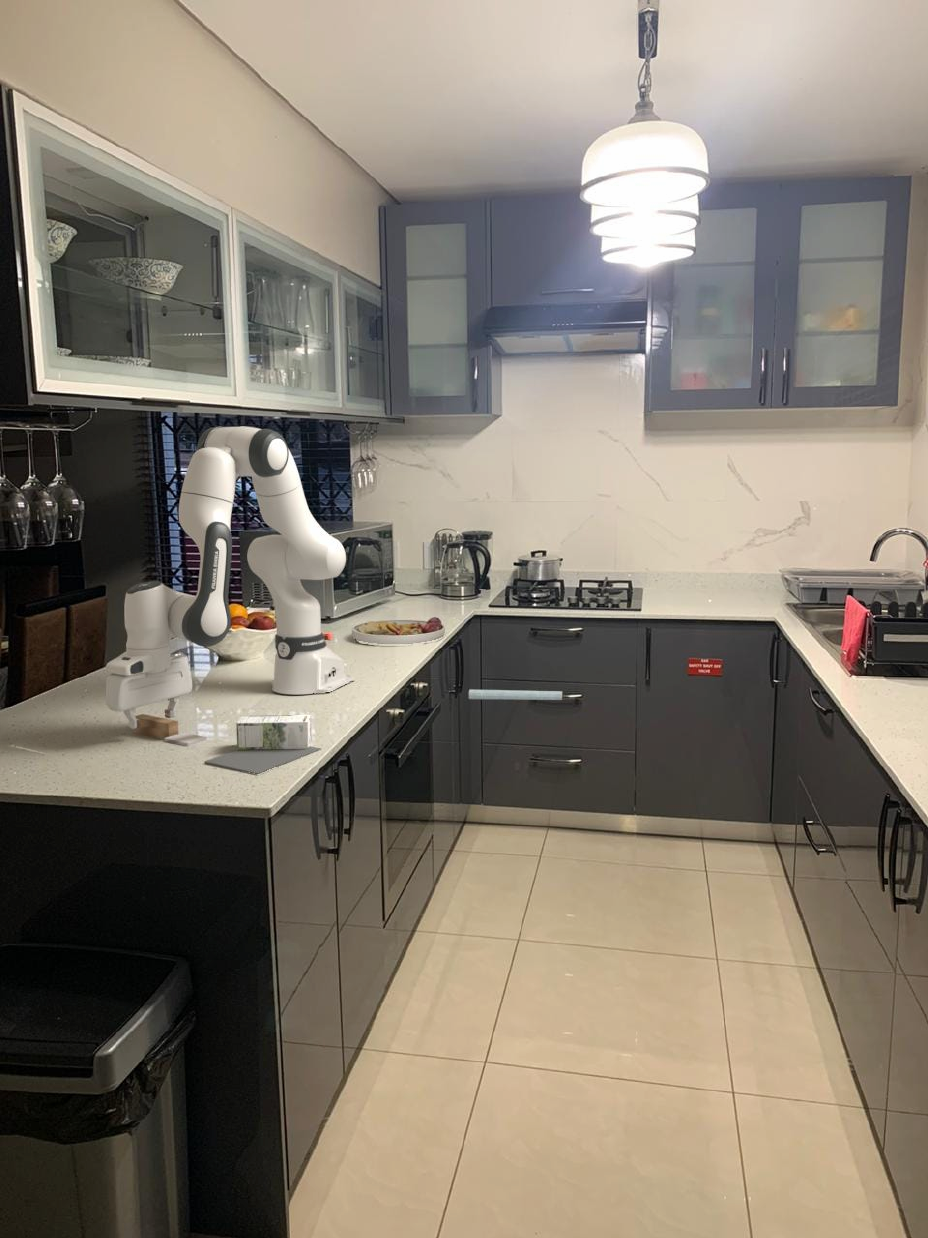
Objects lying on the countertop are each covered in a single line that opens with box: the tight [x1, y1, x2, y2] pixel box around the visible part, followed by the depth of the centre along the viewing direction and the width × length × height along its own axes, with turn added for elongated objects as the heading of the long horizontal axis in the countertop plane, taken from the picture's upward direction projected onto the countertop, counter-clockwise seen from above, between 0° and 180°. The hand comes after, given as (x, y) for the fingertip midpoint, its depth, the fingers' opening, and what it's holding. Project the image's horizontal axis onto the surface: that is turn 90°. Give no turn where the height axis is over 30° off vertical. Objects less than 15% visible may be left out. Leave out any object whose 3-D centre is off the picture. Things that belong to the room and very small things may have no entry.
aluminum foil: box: [467, 689, 564, 701], centre depth 228 cm, size 23×7×3 cm, turn 84°
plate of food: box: [351, 616, 446, 644], centre depth 308 cm, size 30×30×8 cm
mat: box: [204, 745, 322, 775], centre depth 187 cm, size 18×14×1 cm
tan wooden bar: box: [133, 713, 207, 747], centre depth 202 cm, size 18×5×4 cm, turn 58°
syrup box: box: [235, 714, 313, 750], centre depth 193 cm, size 6×6×14 cm
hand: (153, 722), depth 204 cm, fingers open, 8 cm apart
